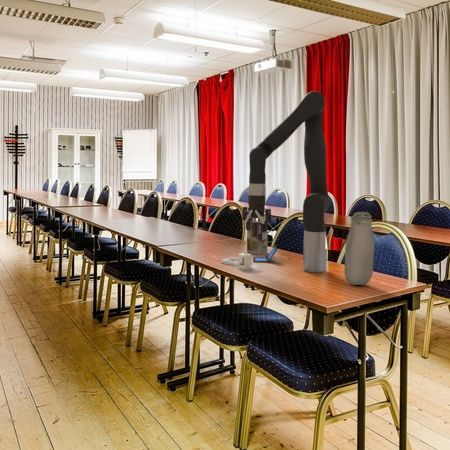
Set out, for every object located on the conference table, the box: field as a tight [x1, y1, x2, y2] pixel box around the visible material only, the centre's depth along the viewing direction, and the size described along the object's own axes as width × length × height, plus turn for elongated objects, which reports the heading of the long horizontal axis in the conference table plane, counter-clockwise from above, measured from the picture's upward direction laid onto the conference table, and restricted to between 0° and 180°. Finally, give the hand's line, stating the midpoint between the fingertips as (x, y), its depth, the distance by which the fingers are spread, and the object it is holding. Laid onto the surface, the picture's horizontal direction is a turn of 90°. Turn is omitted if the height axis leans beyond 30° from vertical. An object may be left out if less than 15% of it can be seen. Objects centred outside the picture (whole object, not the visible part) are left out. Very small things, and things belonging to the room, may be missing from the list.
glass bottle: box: [344, 211, 375, 286], centre depth 184 cm, size 10×10×28 cm
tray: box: [220, 256, 238, 267], centre depth 220 cm, size 9×9×2 cm
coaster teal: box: [235, 266, 254, 271], centre depth 210 cm, size 6×6×1 cm
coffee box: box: [246, 220, 269, 255], centre depth 250 cm, size 9×6×16 cm
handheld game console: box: [252, 244, 278, 264], centre depth 228 cm, size 12×11×7 cm
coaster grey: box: [245, 268, 265, 274], centre depth 204 cm, size 6×6×1 cm
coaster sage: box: [251, 263, 265, 269], centre depth 214 cm, size 6×6×1 cm
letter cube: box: [237, 252, 253, 270], centre depth 209 cm, size 4×4×6 cm
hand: (256, 231), depth 212 cm, fingers open, 8 cm apart
